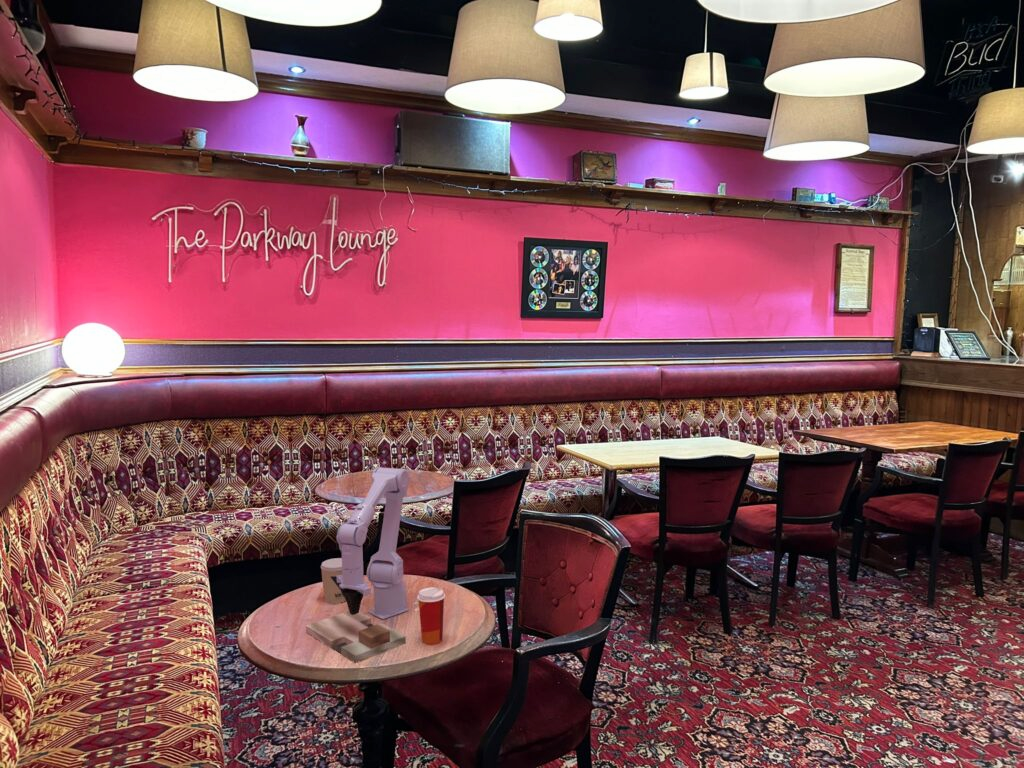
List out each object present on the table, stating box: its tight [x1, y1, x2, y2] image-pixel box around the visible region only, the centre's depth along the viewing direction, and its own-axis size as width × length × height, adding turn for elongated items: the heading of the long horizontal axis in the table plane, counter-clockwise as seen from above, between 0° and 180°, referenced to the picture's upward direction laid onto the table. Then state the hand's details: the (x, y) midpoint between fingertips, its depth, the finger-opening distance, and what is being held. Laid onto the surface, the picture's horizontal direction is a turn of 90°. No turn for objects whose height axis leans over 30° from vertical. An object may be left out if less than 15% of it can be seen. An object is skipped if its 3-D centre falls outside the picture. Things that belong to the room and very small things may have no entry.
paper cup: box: [417, 586, 446, 646], centre depth 200 cm, size 8×8×14 cm
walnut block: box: [359, 623, 390, 649], centre depth 196 cm, size 6×6×3 cm
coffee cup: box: [320, 557, 346, 605], centre depth 230 cm, size 9×9×12 cm
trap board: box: [305, 610, 407, 664], centre depth 203 cm, size 16×26×2 cm, turn 44°
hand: (354, 613), depth 203 cm, fingers closed
